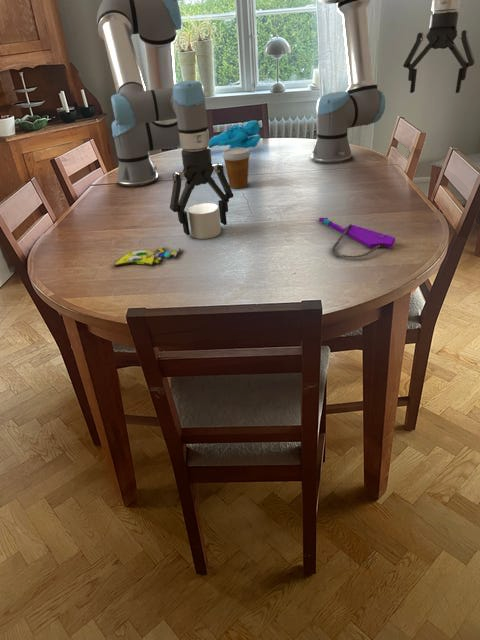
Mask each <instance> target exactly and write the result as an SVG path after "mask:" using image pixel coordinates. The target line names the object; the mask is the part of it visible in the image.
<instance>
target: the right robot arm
mask: <svg viewBox="0 0 480 640" xmlns="http://www.w3.org/2000/svg"><path fill="white" fill-rule="evenodd" d="M317 1H318V2H320V3H322V4H326V5H327V4H328V5H332V4H333V5H334V4H336V9H337V12H338V13H339V14H340V15H341V17H342V25H343V37H344V46H345V55H346V64H347V65H346V66H347V75H348V76H347V77H348V85H349V86H348V87H347V89H346V90H344V91H343V90H342V91H334V92H329V93H327V94H324V95H321V96H320V97H319V98H318V100H317V103H316V140H315V144H314V145H313V150H312V153H311V160H312V161H313V162H315V163H319V164H341V163H345V162H348V161H350V160H351V159H352V150H351V147H350V142H349V139H348V132H349V130H348V129H352V128H356V127H362V126H369V125H372V124H375V123H377V122H379V121H380V120H381V118H382V116H383V115H384V113H385V110H386V96H385V94H384V92H383V91H381V90H379V89H378V83H376V81H374V80H373V69H372V59H371V47H370V38H369V36H370V34H369V24H368V13H367V9H368V7H369V5H370V4H371V0H317ZM460 7H461V0H432V1H431V10H430V11H431V12H432V13H431V14H430V17H429V19H430V20H429V25H428V26H429V28H428V32H423V31H421V32H417V34H416V38H415V42H414V44H413V46H412V48H411V50H410V52H409V53H408V55H407V57H406V59H405V60H404V63H403V65H402V67H403V68H406V69H408V76H407V81H409V82H410V87H409V93H410V94H413V93H415V91H416V82H417V75H418V74H417V72H418V68H416V67H417V66H418V64H419V63H420V62H421V61H422V60H423V59H424V57H425V56H426V55H427V54H428V52H430V50H432V49H434V50H437V49H442V50H444V49H447V48H448V49H449V50H450V52H451V54H453V56H454V57H455V59H456V60H457V62H458V64H459V65H460V66H461V67H460V68H458V74H457V80H456V85H455V86H456V87H455V94H458V93H460V92H461V87H462V82H463V81H465V80H466V78H467V73H468V68H470V67H473V66H474V65H475V64H476V61H475V57H474V55H473V51H472V49H471V45H470V42H469V39H468V38H469V37H468V35H469V34H468V33H469V31H468V29H463V30H459V31H458V28H457V27H458V19H459V11H458V10H459V9H460ZM457 37H458V39H459V40H461V44H462V47H463V50H464V53H465V57H466V59H467V61H466V59H465V58H464V56H463V54H462V53H461V51H460V50H459V49H458V47H457V44H456V43H455V42H454V41H455V39H456V38H457ZM426 39H427V41H428V43H427V45H425V47H424V48H423V49H422V51H421V52H420V53H419V54H418V56H417V57H416V58H414V57H415V55H416V53H417V52H418V50H419V48H420V46H421V44H422V42H424V41H425V40H426ZM413 59H414V60H413Z"/></svg>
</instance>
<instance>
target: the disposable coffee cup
mask: <svg viewBox="0 0 480 640" xmlns="http://www.w3.org/2000/svg"><path fill="white" fill-rule="evenodd" d="M250 155H251V152H250V150H249V148H230V149H229V148H227V149H225V150H223V151H222V159H223V162H224V166H225V171H226V175H227V181H228V184H229V186H230V188H231V189H243V188H245V187H248V184H249V183H248V181H249V162H250V161H249V160H250Z"/></svg>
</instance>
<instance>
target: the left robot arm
mask: <svg viewBox="0 0 480 640" xmlns="http://www.w3.org/2000/svg"><path fill="white" fill-rule="evenodd" d="M96 28H97V32H98V33H97V34H98V35H99V38H100V39H101V40H102V41H103V43H104V46H105V49H106V54H107V58H108V63H109V67H110V72H111V75H112V79H113V83H114V86H115V91H116V93H115V94H112V95H111V96H110V101H111V106H112V111H113V115H114V120H113V121H112V122H111V131H112V137H113V141H114V145H115V151H116V155H117V160H118V167H117V168H118V170H117V183H118V186H120V187H123V188H124V187H125V188H136V187H137V188H138V187H145V186H147V185H148V186H149V185H151V184H154V183H156V182H157V181H158V180H159V176H158V172H157V170H158V168H157V167H158V166H157V165H154V163H153V161H152V159H151V156H150V152H152V151H159V150H167V149H176V148H179V147H180V148H181V149H182V150H181V161H182V166H183V170H182V171H180V172H175V171H174V172H173V173H172V180H173V183H172V189H171V196H170V203H169V209H170V210H171V211H172V212H173V213H177V219H178V222H179V224H181V225H182V230H183V233H184V234H185V235H186V236H190V235H191V230H190V223H189V216H188V211H186V210H185V209H186V207H187V204H188V202H189V199H190V196H191V194H192V192H193V190H194V189H195V187H197V186H201V185H206V184H208V185H209V187H211V189H212V190H213V192H214V193H215V194H216V195H217V196H218V197H219V200H218V201H217V203H218V204H217V205H218V209H219V219H220V224H222V225H223V226H227V225H228V221H227V213H229V205H228V204H229V202H230V199H232V198H234V193H233V191H232V188H231V187H230V185H229V180H228V178H227V177H226V174H225V167H224V165H223V164H221V163H219V162H217V163H215V164H213V163H212V152H211V148H209V147H208V146H209V145H210V142H209V140H210V133H209V127H208V126H209V125H208V116H207V106H206V94H205V90H204V84H203V82H202V81H200V80H191V79H190V80H182V81H177V82H176V73H175V59H174V58H175V57H174V44H173V43H174V42H175V41H176V40H177V38H178V34H177V33H178V31H180V30H182V29H183V20H182V14H181V10H180V6H179V2H178V0H102V1H101V3H100V5H99V8H98V10H97V15H96ZM133 35H138V37H139V40H140V41H141V42H142V43H144V45H145V54H146V55H145V56H146V62H147V73H148V81H149V88H150V89H149V90H146V86H145V83H144V80H143V76H142V72H141V68H140V65H139V62H138V57H137V54H136V50H135V46H134V43H133V39H132V36H133ZM213 173H216V175H217V178H218V180H219V182H220V185H221V187H222V189H223V191H222V189H221V187H219V185H218V184H217V183H216V181H215V180H214V178H213V177H212V175H213ZM184 178H185V179H186V180H185V183H184V188H183V189H181V188H182V182H183V180H184ZM181 190H182V193H181Z"/></svg>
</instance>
